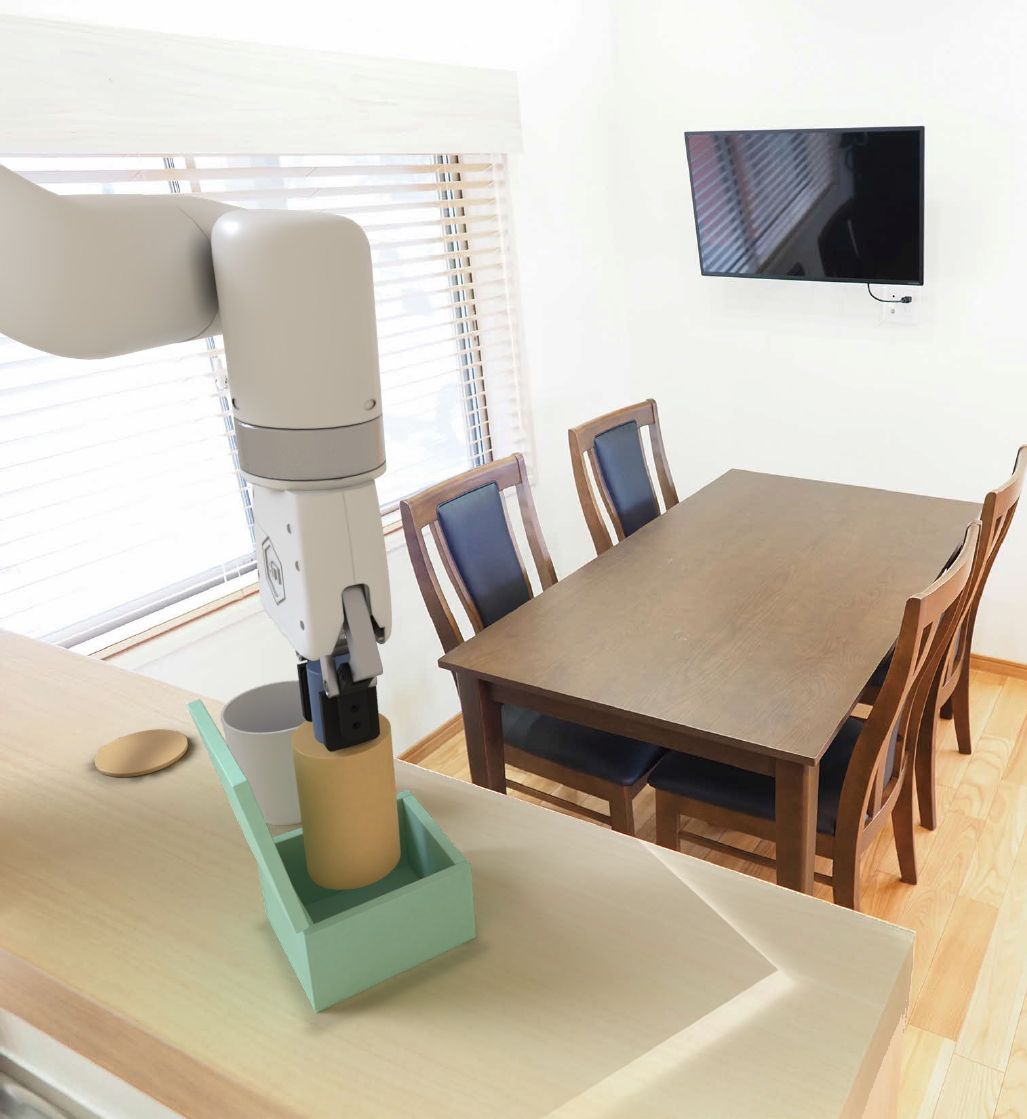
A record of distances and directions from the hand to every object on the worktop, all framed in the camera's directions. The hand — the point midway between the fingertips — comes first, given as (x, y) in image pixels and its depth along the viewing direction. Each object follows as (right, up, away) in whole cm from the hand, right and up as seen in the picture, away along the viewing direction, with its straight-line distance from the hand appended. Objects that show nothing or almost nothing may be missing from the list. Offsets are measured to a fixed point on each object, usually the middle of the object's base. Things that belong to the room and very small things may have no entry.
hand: (341, 726), depth 60 cm
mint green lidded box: (-1, -16, +6) cm, 17 cm away
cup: (-12, -10, +18) cm, 24 cm away
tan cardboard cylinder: (-1, -10, +4) cm, 10 cm away
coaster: (-28, -7, +24) cm, 38 cm away
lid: (-4, -5, -2) cm, 7 cm away
